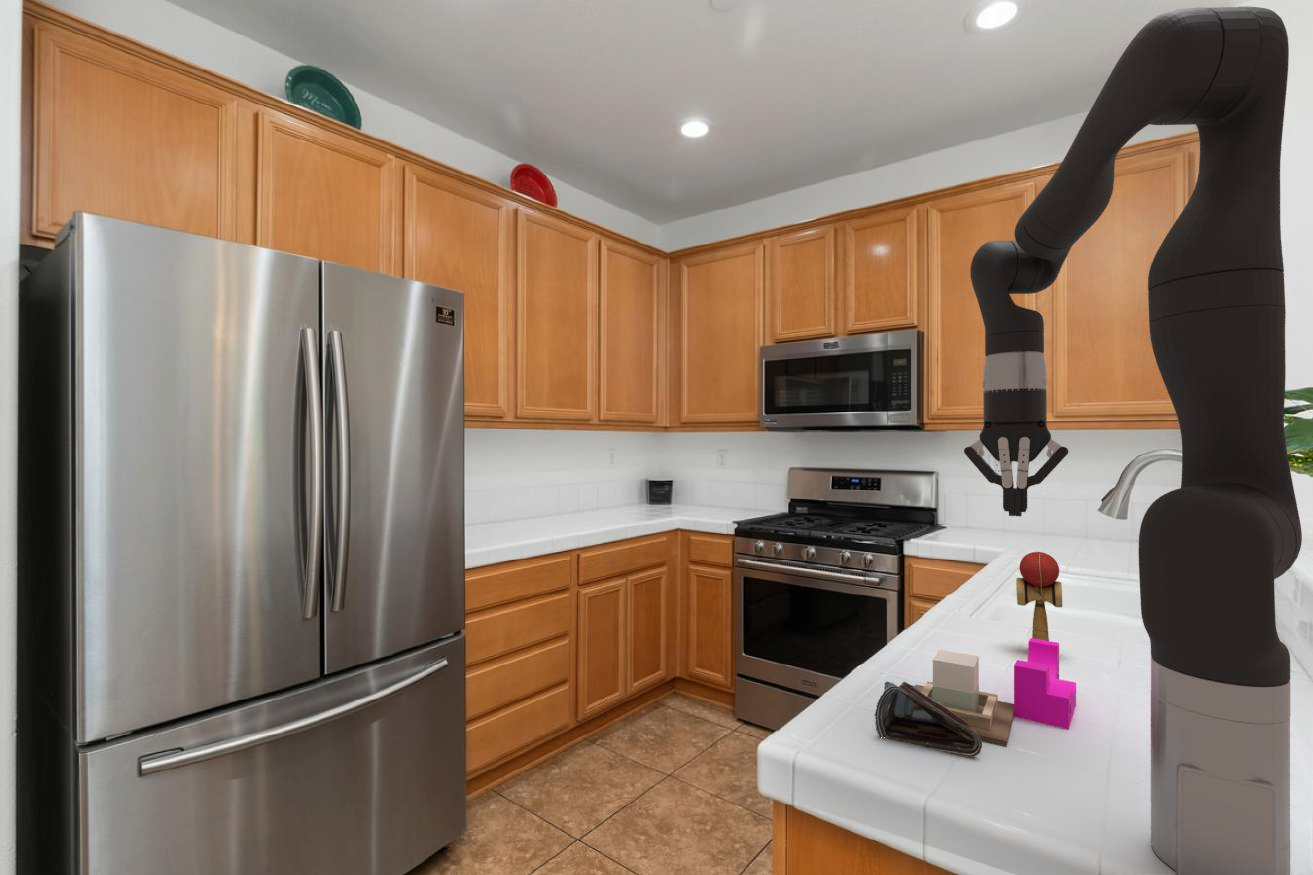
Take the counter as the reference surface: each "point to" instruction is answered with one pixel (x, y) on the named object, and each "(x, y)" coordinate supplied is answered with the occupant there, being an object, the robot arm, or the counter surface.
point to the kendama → (1039, 589)
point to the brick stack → (956, 680)
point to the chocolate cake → (923, 722)
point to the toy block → (1043, 687)
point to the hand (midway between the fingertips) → (1015, 515)
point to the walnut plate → (984, 716)
